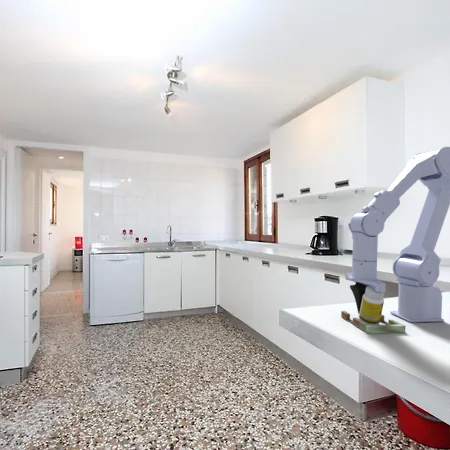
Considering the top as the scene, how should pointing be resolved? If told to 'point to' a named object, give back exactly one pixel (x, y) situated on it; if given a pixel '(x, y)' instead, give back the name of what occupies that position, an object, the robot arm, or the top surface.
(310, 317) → the top surface
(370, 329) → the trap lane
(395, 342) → the top surface
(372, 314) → the supplement bottle
